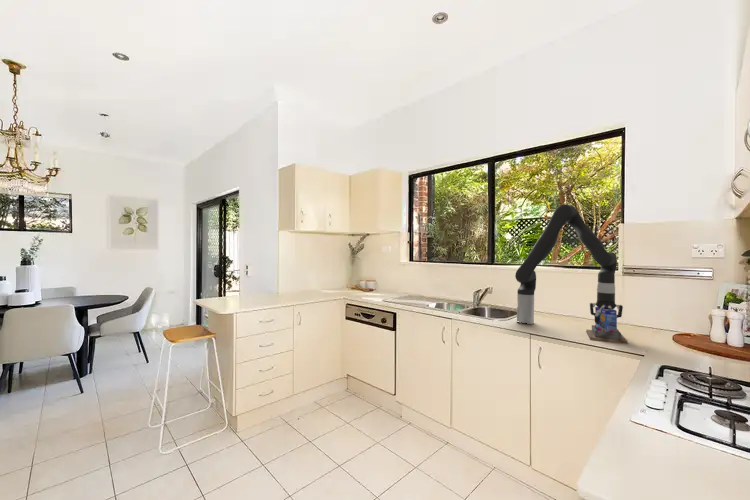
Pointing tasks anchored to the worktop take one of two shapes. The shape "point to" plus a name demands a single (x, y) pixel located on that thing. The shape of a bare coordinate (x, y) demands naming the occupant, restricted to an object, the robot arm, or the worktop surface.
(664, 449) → the worktop surface
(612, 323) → the ink cartridge box
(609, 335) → the docking frame
